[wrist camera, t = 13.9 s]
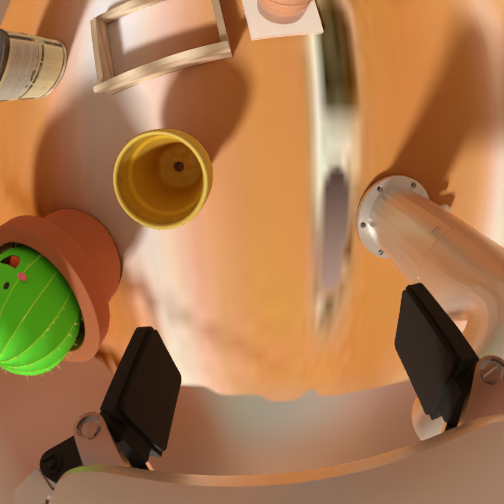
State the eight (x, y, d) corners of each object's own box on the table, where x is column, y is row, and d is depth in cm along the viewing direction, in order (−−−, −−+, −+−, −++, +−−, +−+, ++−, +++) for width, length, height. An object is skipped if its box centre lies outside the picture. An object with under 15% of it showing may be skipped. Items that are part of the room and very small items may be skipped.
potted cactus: (137, 321, 46) (84, 441, 24) (43, 293, 44) (-25, 378, 22) (137, 203, 37) (20, 311, 14) (29, 187, 35) (-81, 252, 13)
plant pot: (151, 207, 37) (122, 234, 28) (140, 133, 32) (104, 140, 24) (224, 200, 37) (214, 226, 28) (217, 121, 32) (203, 121, 23)
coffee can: (22, 106, 29) (-39, 115, 16) (27, 51, 24) (-32, 47, 11) (65, 91, 29) (-1, 92, 16) (71, 31, 24) (11, 14, 12)
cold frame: (215, -18, 23) (209, -34, 18) (232, 56, 28) (228, 46, 24) (101, 22, 24) (84, 13, 20) (112, 94, 30) (94, 92, 25)
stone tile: (305, -19, 22) (307, -22, 22) (321, 33, 26) (323, 31, 25) (238, -13, 23) (237, -16, 22) (251, 40, 27) (251, 38, 26)
